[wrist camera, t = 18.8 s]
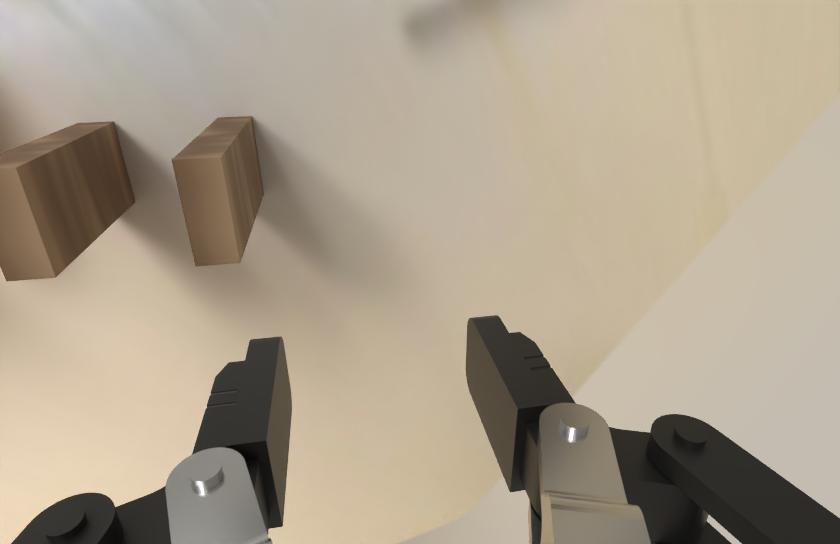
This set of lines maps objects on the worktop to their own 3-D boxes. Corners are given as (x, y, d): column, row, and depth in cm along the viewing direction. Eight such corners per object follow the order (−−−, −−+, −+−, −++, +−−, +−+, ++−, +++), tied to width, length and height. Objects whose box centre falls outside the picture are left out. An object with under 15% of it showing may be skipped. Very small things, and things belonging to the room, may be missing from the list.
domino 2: (251, 116, 32) (220, 157, 22) (263, 194, 34) (240, 262, 24) (218, 117, 31) (171, 159, 22) (232, 196, 34) (195, 266, 24)
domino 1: (113, 121, 31) (15, 167, 21) (135, 201, 33) (55, 277, 23) (77, 123, 30) (-39, 170, 21) (101, 203, 32) (6, 281, 23)
